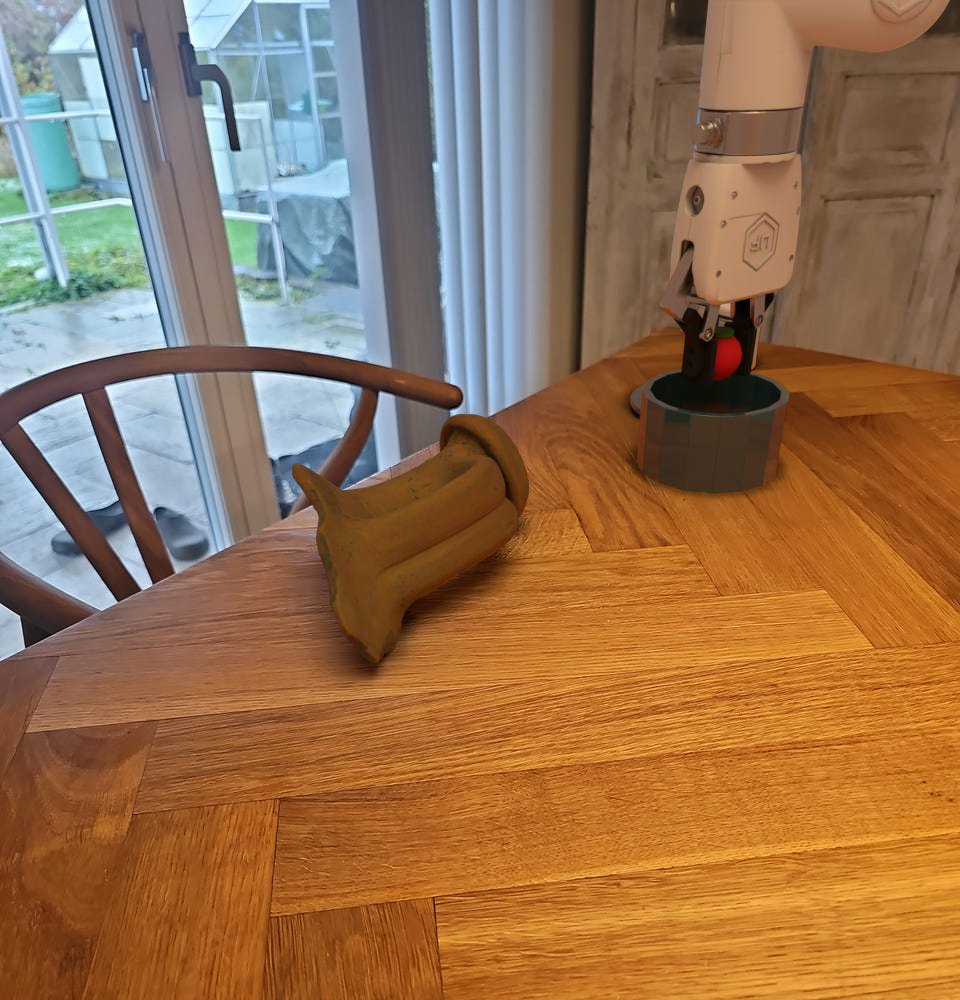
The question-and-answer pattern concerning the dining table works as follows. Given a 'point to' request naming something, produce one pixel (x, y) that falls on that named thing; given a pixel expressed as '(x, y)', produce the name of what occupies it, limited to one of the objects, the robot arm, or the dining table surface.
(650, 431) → the pot
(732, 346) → the toy tomato
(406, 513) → the brown fluted pedestal
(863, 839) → the dining table surface
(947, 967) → the dining table surface
